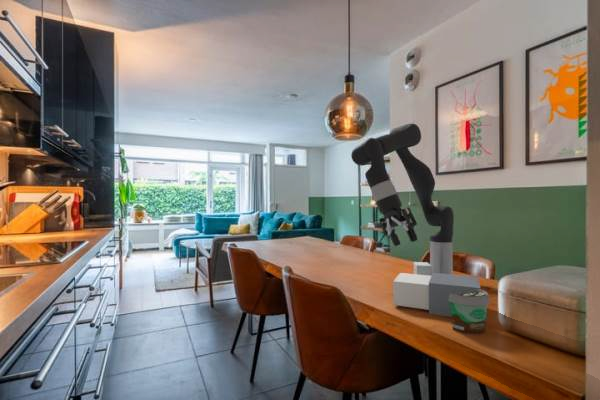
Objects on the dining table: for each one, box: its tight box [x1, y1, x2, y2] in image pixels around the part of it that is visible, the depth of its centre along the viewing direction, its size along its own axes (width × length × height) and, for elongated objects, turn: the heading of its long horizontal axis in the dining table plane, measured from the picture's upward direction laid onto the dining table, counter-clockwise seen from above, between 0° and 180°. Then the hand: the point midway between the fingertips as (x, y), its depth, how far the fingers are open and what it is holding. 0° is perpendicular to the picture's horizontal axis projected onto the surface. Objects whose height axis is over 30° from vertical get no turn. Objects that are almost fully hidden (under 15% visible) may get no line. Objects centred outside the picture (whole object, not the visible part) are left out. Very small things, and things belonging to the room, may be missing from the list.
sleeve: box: [428, 273, 482, 318], centre depth 100 cm, size 14×16×10 cm
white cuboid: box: [392, 272, 431, 311], centre depth 102 cm, size 25×14×8 cm, turn 63°
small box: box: [413, 261, 432, 276], centre depth 123 cm, size 8×6×10 cm
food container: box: [448, 289, 491, 335], centre depth 82 cm, size 12×6×10 cm, turn 114°
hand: (405, 243), depth 98 cm, fingers open, 8 cm apart
